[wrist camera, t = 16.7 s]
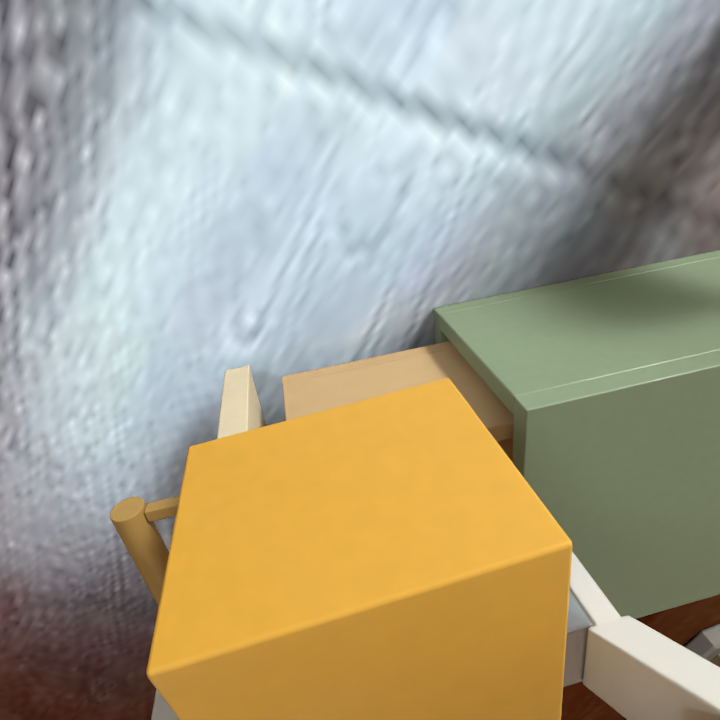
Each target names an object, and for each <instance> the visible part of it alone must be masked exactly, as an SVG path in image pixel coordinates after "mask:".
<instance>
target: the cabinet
mask: <svg viewBox="0 0 720 720" xmlns="http://www.w3.org/2000/svg"><path fill="white" fill-rule="evenodd" d="M433 311H434V327H435V344H438V343H443V342H447V341H450V342H451V343H452V344H453V345H454V346H455V348H456V349H457V350H458V351H459V352H460V353H461V355H462V356H463V357H464V358H465V359H466V360H467V362H468V363H469V364H470V365H471V366H472V368H473V369H474V370H475V371H476V372H477V373H478V375H479V376H480V377H481V378H482V379H483V380H484V382H485V383H486V384H487V385H488V386H489V387H490V389H491V390H492V391H493V392H494V393H495V394H496V396H497V397H498V398H499V399H500V400H501V401H502V403H503V404H504V405H505V406H506V407H507V408H508V410H509V411H510V412H511V413H512V414H513V415H514V434H513V464H514V465H515V467H516V468H517V469H518V471H519V472H520V473H521V475H522V476H523V477H524V479H525V480H526V481H527V483H528V484H529V485H530V487H531V488H532V489H533V491H534V492H535V493H536V495H537V496H538V497H539V499H540V500H541V501H542V503H543V504H544V505H545V507H546V508H547V509H548V511H549V512H550V513H551V515H552V516H553V517H554V519H555V520H556V521H557V523H558V524H559V525H560V527H561V528H562V529H563V531H564V532H565V533H566V535H567V536H568V537H569V539H570V540H571V542H572V545H573V548H572V552H573V553H574V554H575V556H576V557H577V558H578V560H579V561H580V562H581V564H582V565H583V566H584V568H585V569H586V570H587V572H588V573H589V574H590V576H591V577H592V578H593V580H594V581H595V582H596V584H597V585H598V586H599V588H600V589H601V591H602V592H603V593H604V595H605V596H606V597H607V599H608V600H609V601H610V603H611V604H612V605H613V607H614V608H615V609H616V611H617V612H618V613H619V615H620V616H621V617H623V616H627V615H629V616H631V617H632V618H634V619H636V618H639V617H643V616H646V615H650V614H653V613H657V612H660V611H663V610H667V609H670V608H674V607H677V606H681V605H684V604H687V603H691V602H694V601H698V600H701V599H705V598H708V597H711V596H715V595H718V594H720V251H719V250H718V251H713V252H708V253H703V254H698V255H693V256H689V257H684V258H679V259H674V260H669V261H664V262H659V263H654V264H649V265H644V266H639V267H634V268H630V269H625V270H620V271H615V272H610V273H605V274H600V275H595V276H590V277H585V278H580V279H575V280H571V281H566V282H561V283H556V284H551V285H546V286H541V287H536V288H531V289H526V290H521V291H516V292H512V293H507V294H502V295H497V296H492V297H487V298H482V299H477V300H472V301H467V302H462V303H457V304H453V305H448V306H443V307H438V308H434V309H433Z"/></svg>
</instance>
